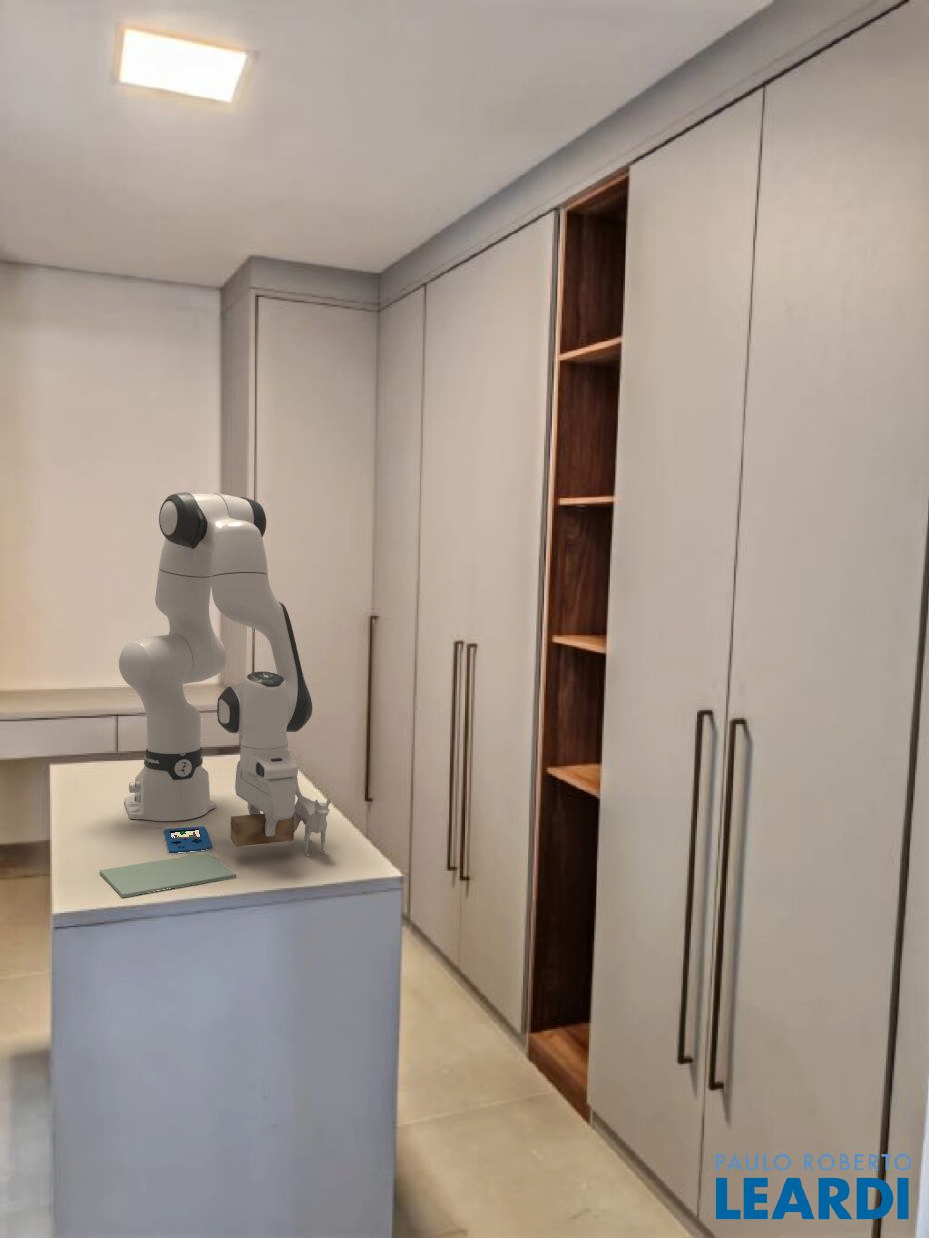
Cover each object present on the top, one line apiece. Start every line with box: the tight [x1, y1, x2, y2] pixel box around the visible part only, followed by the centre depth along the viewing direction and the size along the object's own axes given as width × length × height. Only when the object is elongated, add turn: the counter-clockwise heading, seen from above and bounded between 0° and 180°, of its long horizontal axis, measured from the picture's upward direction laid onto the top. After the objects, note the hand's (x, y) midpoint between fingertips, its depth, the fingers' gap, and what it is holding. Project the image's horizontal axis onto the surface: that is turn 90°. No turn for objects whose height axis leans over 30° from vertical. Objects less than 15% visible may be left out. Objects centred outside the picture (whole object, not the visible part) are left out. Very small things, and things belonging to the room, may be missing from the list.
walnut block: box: [230, 812, 295, 848], centre depth 191 cm, size 11×4×5 cm, turn 117°
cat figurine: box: [290, 775, 332, 857], centre depth 198 cm, size 4×20×14 cm, turn 28°
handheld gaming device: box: [163, 825, 213, 854], centre depth 201 cm, size 8×1×15 cm
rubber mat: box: [99, 852, 237, 898], centre depth 180 cm, size 14×20×1 cm
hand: (262, 830), depth 192 cm, fingers closed on walnut block, 5 cm apart
